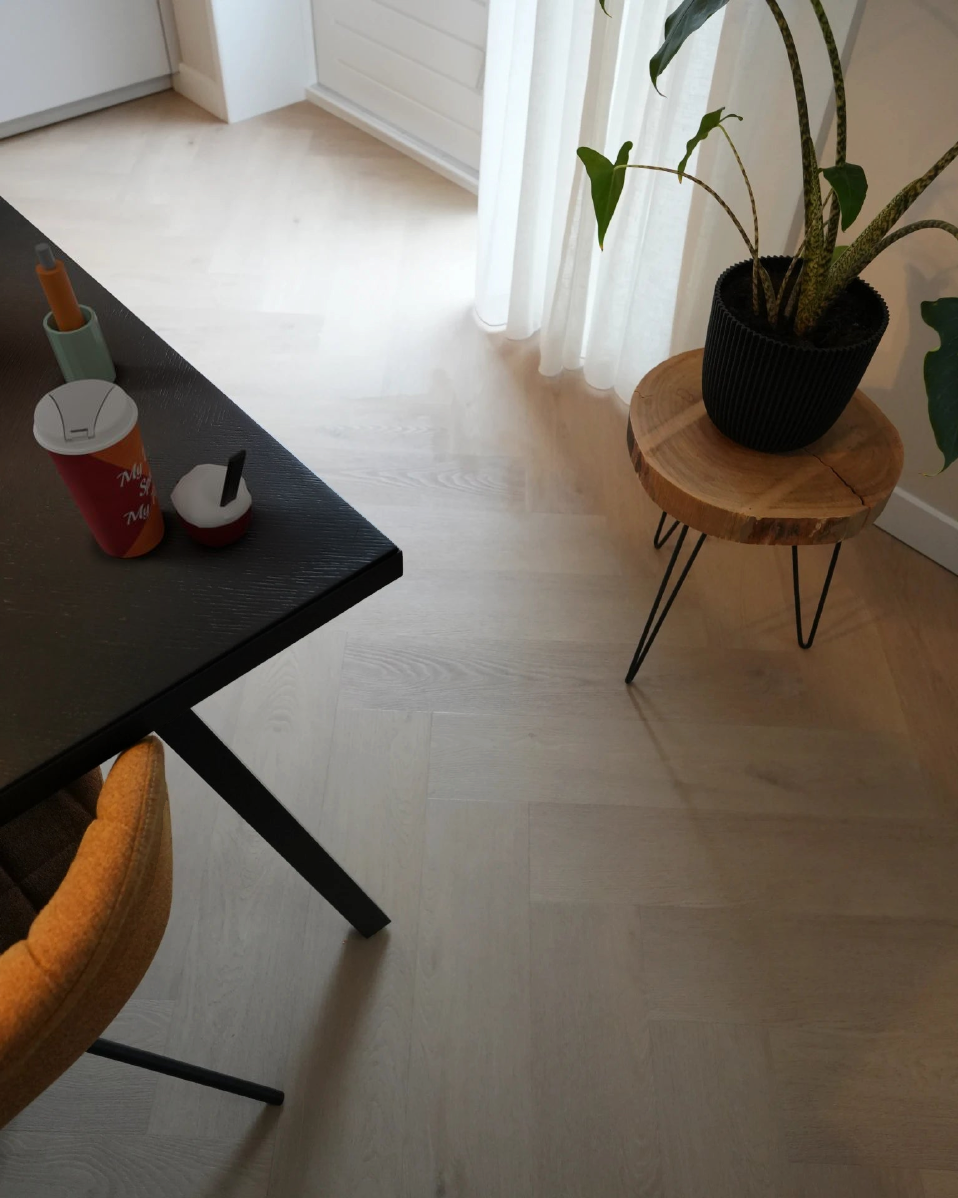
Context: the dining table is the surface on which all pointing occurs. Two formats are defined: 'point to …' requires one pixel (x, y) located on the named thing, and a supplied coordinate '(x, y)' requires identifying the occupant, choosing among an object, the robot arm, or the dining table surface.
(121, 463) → the paper cup
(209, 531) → the cocoa
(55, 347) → the pencil cup
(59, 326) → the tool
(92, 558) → the dining table surface
